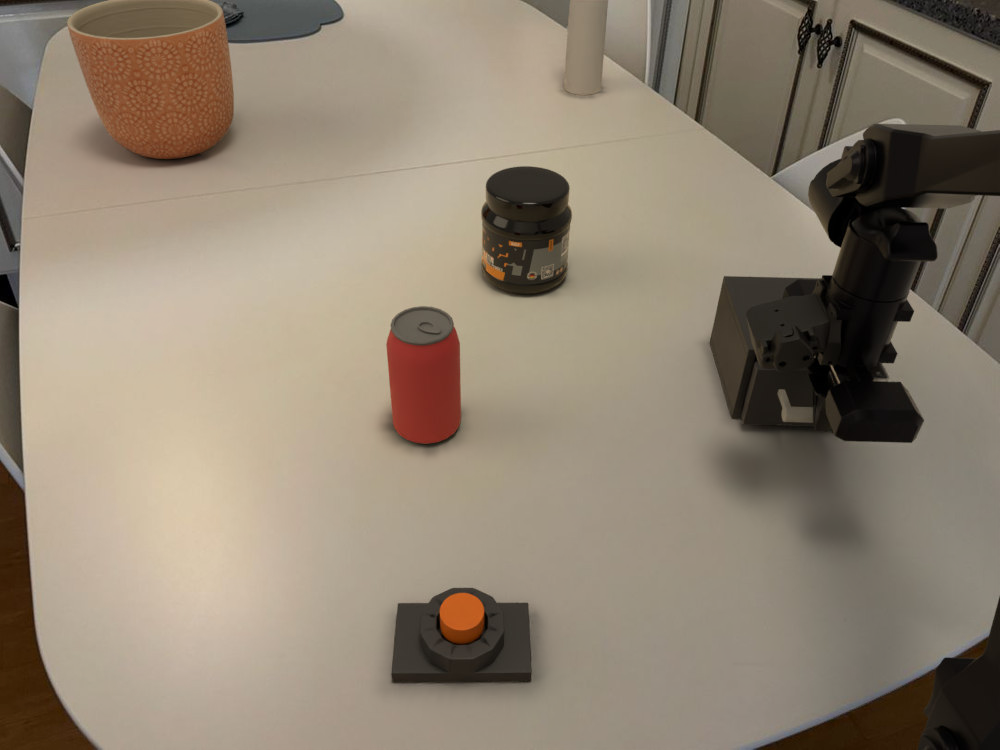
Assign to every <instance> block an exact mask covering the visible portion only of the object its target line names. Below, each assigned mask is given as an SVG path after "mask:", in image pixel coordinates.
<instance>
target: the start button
mask: <svg viewBox="0 0 1000 750" xmlns="http://www.w3.org/2000/svg"><path fill="white" fill-rule="evenodd" d="M440 628H441V632H442V634H443V635H444V637H445V638H446V639H447V640H449V641H450V642H453V643H456V644H468V643H471V642H473V641H475V640H476V639H478V638H479V637H480V635H481V634H482V632H483V630H484V606H483V604H482V602H481V601H480V600H479V599H478V598H477V597H476V596H474V595H471V594H468V593H457V594H453V595H451V596H449V597H448V598H446V599H445V600H444V602H443V603H442V605H441V607H440Z"/></svg>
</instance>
